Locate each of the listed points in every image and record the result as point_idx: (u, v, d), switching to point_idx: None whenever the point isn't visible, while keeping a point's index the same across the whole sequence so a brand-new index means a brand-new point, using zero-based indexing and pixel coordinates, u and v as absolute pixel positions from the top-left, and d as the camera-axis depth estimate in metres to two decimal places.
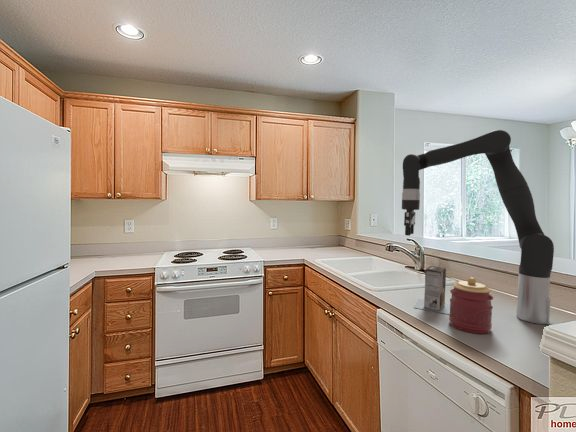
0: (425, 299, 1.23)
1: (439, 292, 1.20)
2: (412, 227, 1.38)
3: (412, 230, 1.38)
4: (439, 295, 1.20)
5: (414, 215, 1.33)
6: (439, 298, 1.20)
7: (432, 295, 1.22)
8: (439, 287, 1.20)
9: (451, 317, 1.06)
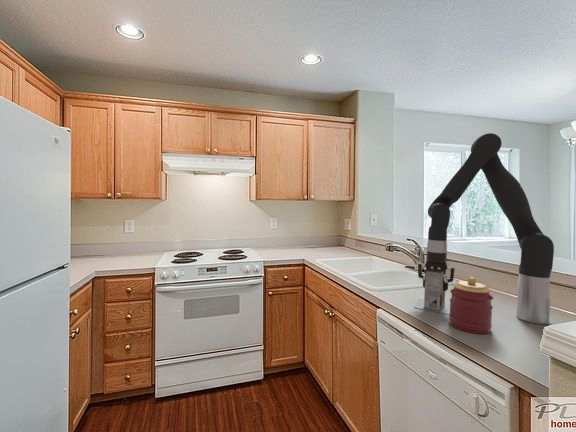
0: (425, 299, 1.23)
1: (439, 292, 1.20)
2: None
3: None
4: (439, 295, 1.20)
5: None
6: (439, 298, 1.20)
7: (432, 295, 1.22)
8: (439, 287, 1.20)
9: (451, 317, 1.06)
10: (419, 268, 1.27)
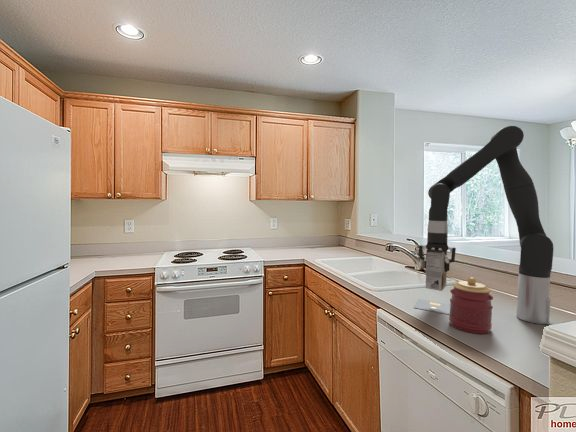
0: (427, 281, 1.23)
1: (440, 272, 1.19)
2: None
3: None
4: (441, 275, 1.19)
5: None
6: (441, 278, 1.19)
7: (433, 275, 1.21)
8: (440, 267, 1.19)
9: (451, 317, 1.06)
10: (420, 250, 1.26)
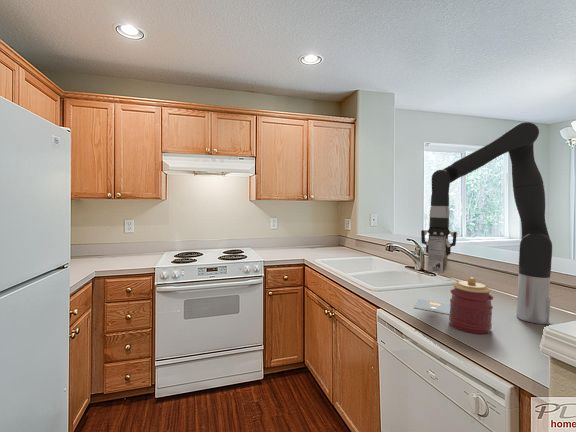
0: (429, 264, 1.27)
1: (442, 255, 1.23)
2: None
3: None
4: (442, 258, 1.23)
5: None
6: (442, 261, 1.23)
7: (435, 259, 1.25)
8: (442, 251, 1.23)
9: (451, 317, 1.06)
10: (422, 234, 1.30)
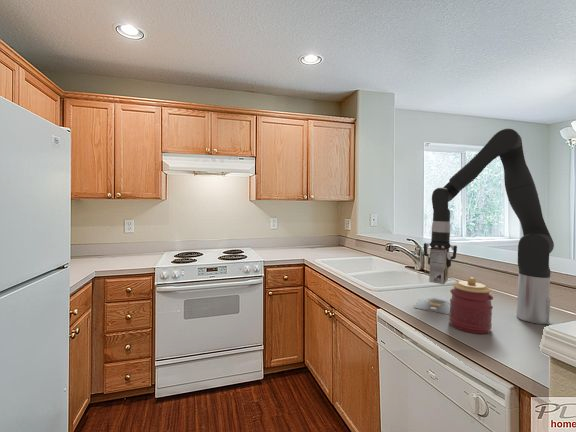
0: (430, 275, 1.36)
1: (443, 268, 1.32)
2: None
3: None
4: (443, 270, 1.32)
5: None
6: (443, 273, 1.32)
7: (436, 270, 1.34)
8: (443, 263, 1.32)
9: (451, 317, 1.06)
10: (424, 247, 1.39)
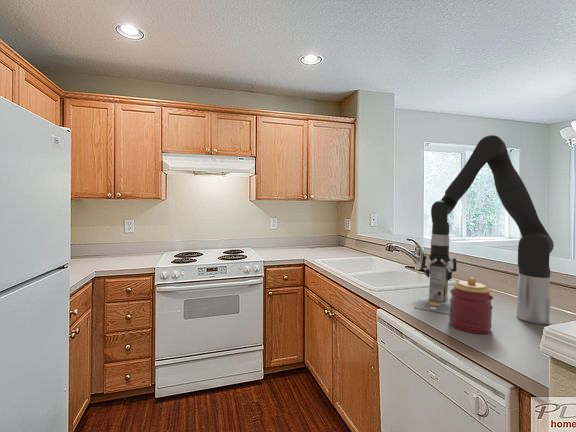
0: (430, 291, 1.36)
1: (443, 284, 1.33)
2: (429, 270, 1.40)
3: (429, 273, 1.40)
4: (443, 287, 1.33)
5: None
6: (443, 290, 1.33)
7: (436, 287, 1.34)
8: (443, 280, 1.32)
9: (451, 317, 1.06)
10: (423, 259, 1.40)
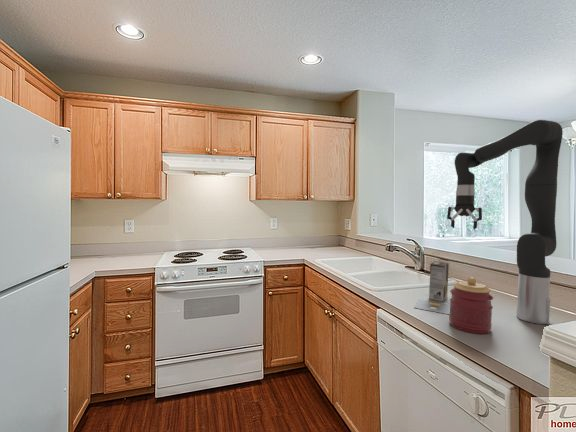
0: (430, 291, 1.36)
1: (443, 284, 1.33)
2: (454, 221, 1.44)
3: (454, 224, 1.44)
4: (443, 287, 1.33)
5: None
6: (443, 290, 1.33)
7: (436, 287, 1.34)
8: (443, 280, 1.32)
9: (451, 317, 1.06)
10: (449, 210, 1.43)
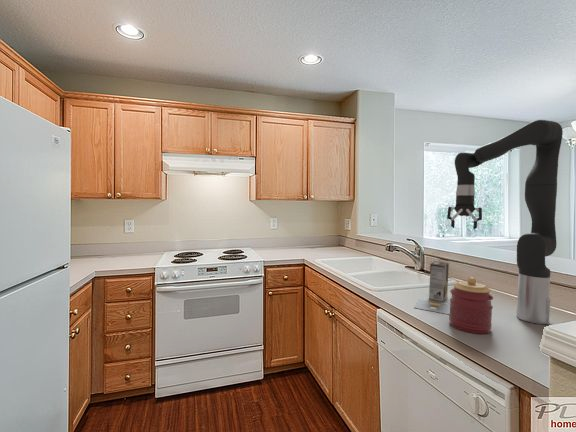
0: (430, 291, 1.36)
1: (443, 284, 1.33)
2: (454, 221, 1.44)
3: (454, 224, 1.44)
4: (443, 287, 1.33)
5: None
6: (443, 290, 1.33)
7: (436, 287, 1.34)
8: (443, 280, 1.32)
9: (451, 317, 1.06)
10: (449, 210, 1.43)
